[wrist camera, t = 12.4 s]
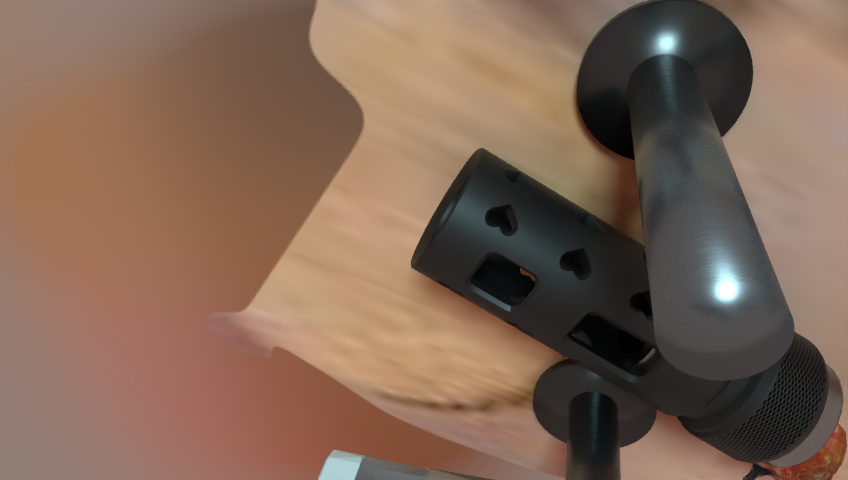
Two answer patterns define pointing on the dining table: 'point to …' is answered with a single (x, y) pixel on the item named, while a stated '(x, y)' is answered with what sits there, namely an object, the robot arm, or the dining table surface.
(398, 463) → the robot arm
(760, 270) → the posts
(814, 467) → the pomegranate
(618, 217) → the dining table surface
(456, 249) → the muzzle brake
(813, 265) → the dining table surface
